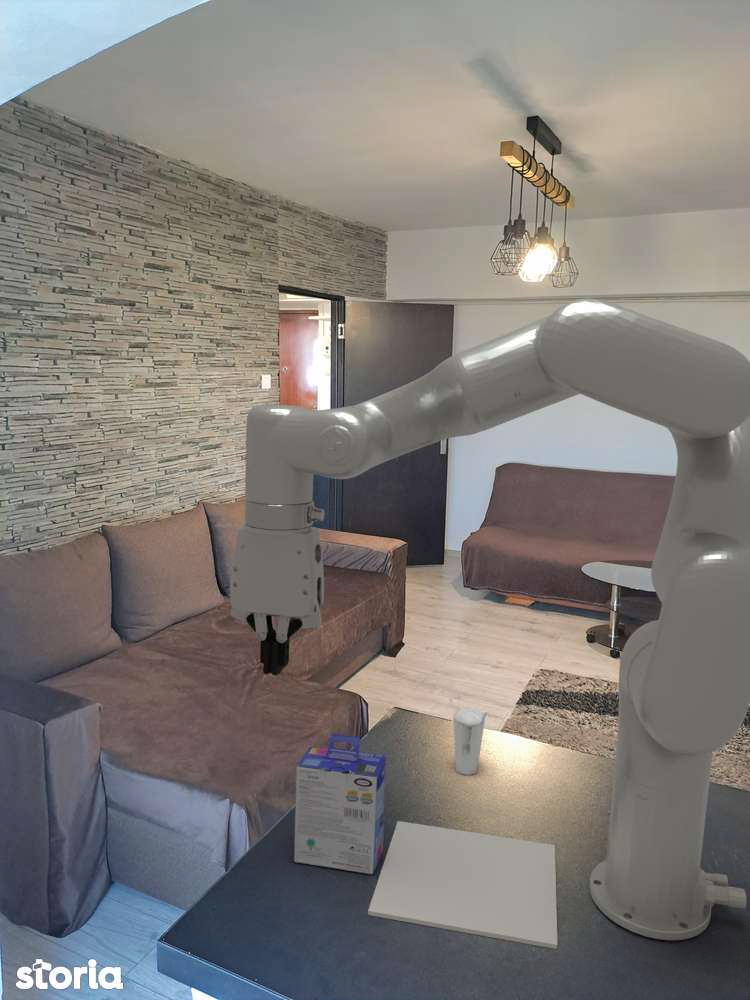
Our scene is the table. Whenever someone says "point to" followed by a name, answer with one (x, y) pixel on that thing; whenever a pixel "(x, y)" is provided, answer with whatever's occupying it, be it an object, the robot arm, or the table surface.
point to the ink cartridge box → (340, 807)
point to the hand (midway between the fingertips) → (274, 670)
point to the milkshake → (468, 739)
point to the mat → (469, 884)
